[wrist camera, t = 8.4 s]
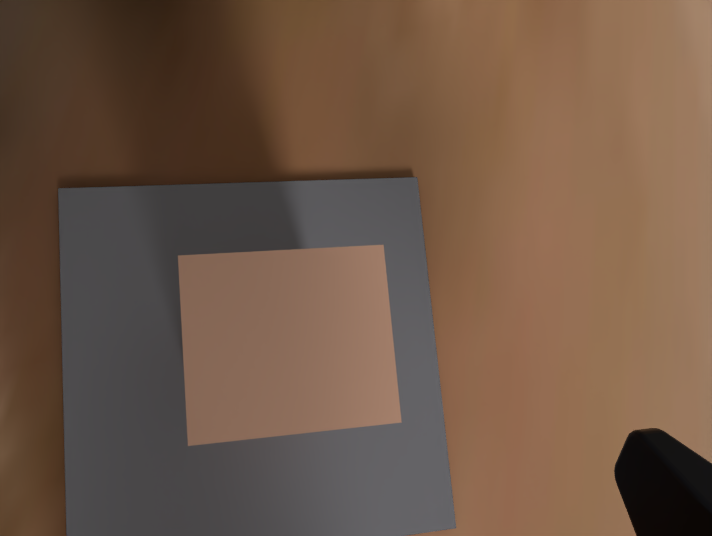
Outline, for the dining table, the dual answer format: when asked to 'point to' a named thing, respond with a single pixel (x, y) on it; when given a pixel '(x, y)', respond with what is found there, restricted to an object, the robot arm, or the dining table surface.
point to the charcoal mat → (166, 369)
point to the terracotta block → (286, 342)
